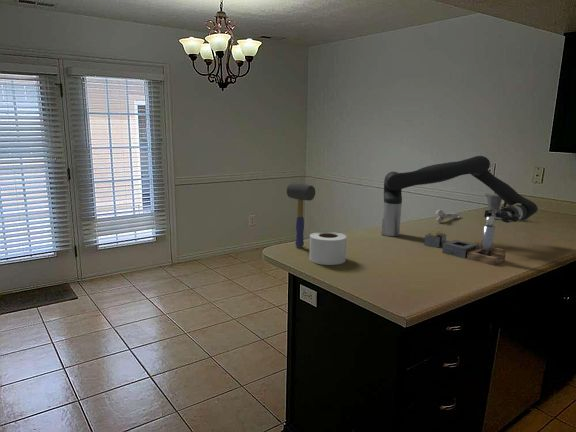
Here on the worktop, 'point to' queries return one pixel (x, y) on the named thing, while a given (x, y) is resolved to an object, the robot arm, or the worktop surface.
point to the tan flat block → (438, 231)
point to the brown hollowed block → (494, 259)
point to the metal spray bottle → (488, 237)
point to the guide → (435, 240)
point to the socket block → (458, 248)
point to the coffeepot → (494, 202)
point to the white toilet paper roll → (327, 248)
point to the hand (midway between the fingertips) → (495, 217)
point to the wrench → (445, 215)
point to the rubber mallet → (300, 206)
